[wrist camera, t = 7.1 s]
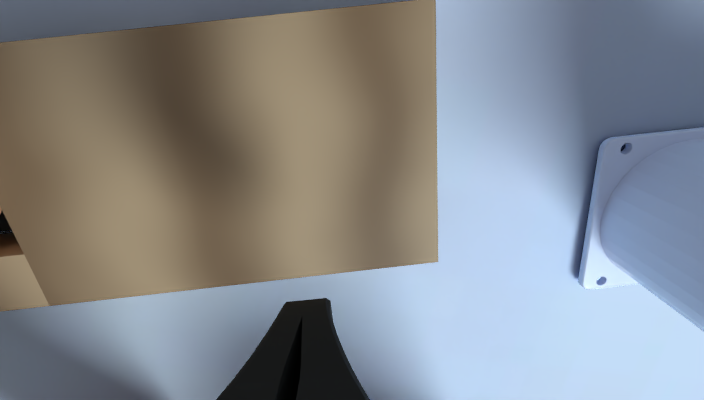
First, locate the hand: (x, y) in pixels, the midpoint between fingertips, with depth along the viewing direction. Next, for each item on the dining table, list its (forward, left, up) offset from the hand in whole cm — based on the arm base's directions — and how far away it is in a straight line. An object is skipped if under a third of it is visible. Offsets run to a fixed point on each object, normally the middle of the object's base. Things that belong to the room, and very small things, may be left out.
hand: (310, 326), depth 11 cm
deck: (+7, -4, -7) cm, 10 cm away
